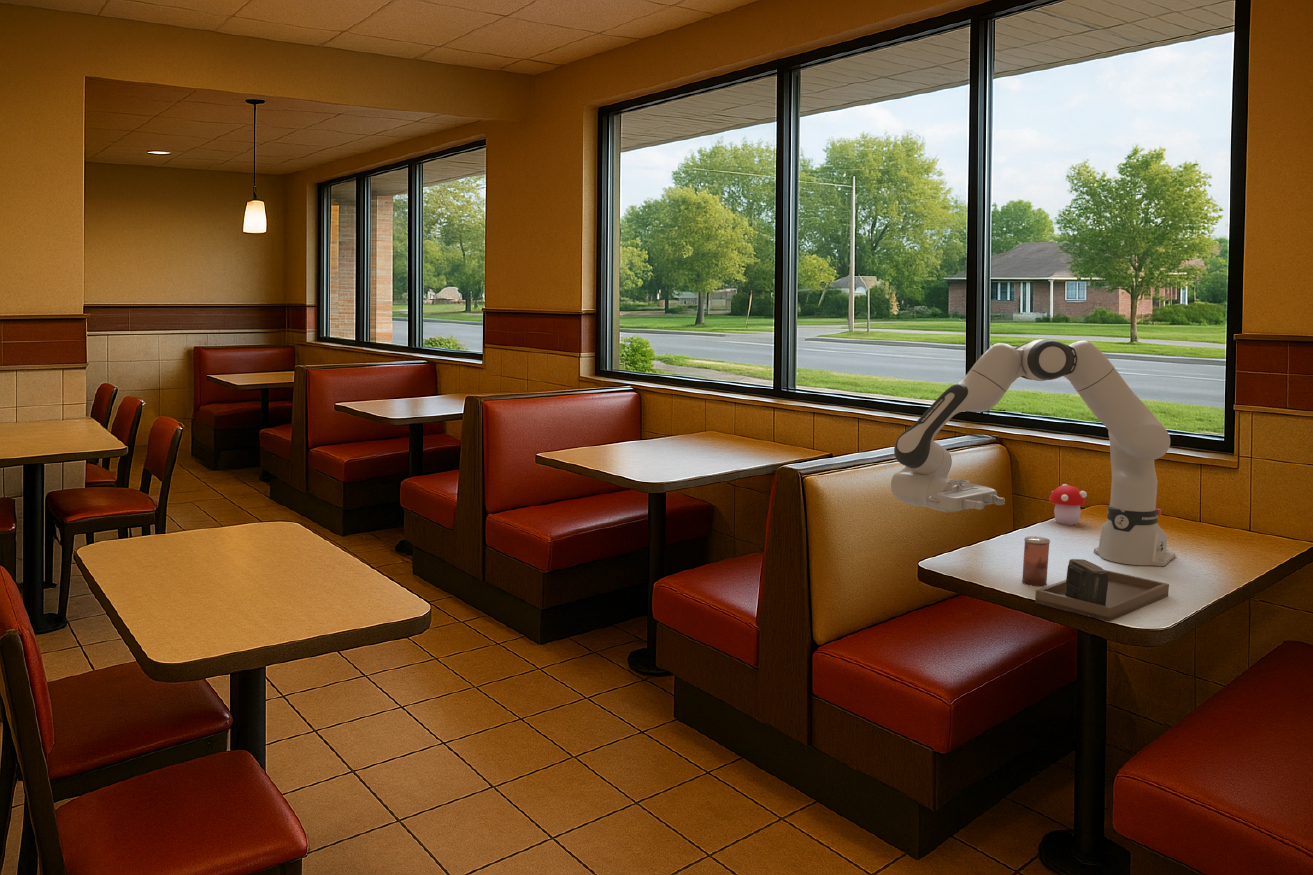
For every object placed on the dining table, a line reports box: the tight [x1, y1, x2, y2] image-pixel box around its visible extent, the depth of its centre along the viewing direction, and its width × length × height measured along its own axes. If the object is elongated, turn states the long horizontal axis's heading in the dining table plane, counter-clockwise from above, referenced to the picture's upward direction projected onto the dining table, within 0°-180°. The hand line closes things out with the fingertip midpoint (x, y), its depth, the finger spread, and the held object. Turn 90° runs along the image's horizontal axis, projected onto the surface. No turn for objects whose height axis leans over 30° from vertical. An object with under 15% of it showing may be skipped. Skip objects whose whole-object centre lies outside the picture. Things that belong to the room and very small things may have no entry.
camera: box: [1065, 558, 1109, 606], centre depth 220 cm, size 11×6×10 cm, turn 3°
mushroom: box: [1048, 483, 1088, 526], centre depth 306 cm, size 11×11×12 cm
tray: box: [1034, 569, 1170, 623], centre depth 226 cm, size 30×17×3 cm, turn 130°
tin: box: [1021, 535, 1051, 587], centre depth 238 cm, size 6×6×11 cm
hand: (993, 503), depth 246 cm, fingers open, 8 cm apart
